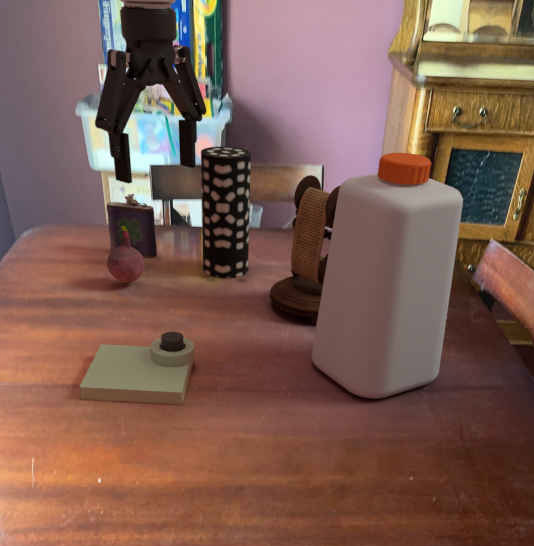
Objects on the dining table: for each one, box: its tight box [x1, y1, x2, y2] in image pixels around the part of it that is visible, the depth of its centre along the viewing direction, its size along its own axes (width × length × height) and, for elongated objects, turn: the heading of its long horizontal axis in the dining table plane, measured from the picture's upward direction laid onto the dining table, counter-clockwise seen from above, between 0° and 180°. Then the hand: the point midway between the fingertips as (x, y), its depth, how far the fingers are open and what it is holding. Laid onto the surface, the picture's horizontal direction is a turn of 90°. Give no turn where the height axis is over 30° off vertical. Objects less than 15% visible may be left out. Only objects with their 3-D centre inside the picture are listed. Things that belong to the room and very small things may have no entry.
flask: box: [105, 193, 158, 259], centre depth 126 cm, size 9×3×11 cm, turn 76°
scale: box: [79, 336, 196, 406], centre depth 90 cm, size 13×12×4 cm
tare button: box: [160, 331, 184, 352], centre depth 91 cm, size 3×3×2 cm
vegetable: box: [106, 226, 146, 286], centre depth 114 cm, size 6×6×10 cm
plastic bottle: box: [311, 152, 464, 399], centre depth 87 cm, size 15×15×28 cm
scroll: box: [269, 174, 341, 326], centre depth 106 cm, size 15×15×20 cm
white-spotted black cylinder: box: [200, 145, 252, 279], centre depth 118 cm, size 8×8×20 cm
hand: (157, 173), depth 104 cm, fingers open, 13 cm apart
